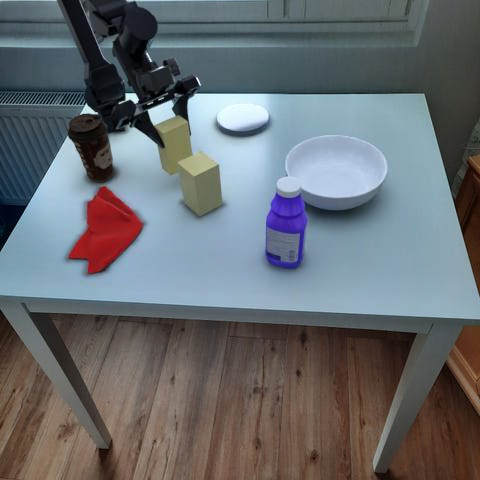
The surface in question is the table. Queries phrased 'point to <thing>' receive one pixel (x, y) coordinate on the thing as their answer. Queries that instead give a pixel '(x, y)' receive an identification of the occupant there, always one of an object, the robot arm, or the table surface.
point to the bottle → (286, 225)
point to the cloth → (106, 230)
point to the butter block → (200, 183)
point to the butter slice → (174, 143)
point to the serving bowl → (337, 171)
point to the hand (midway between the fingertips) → (176, 142)
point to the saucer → (243, 119)
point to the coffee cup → (92, 146)
